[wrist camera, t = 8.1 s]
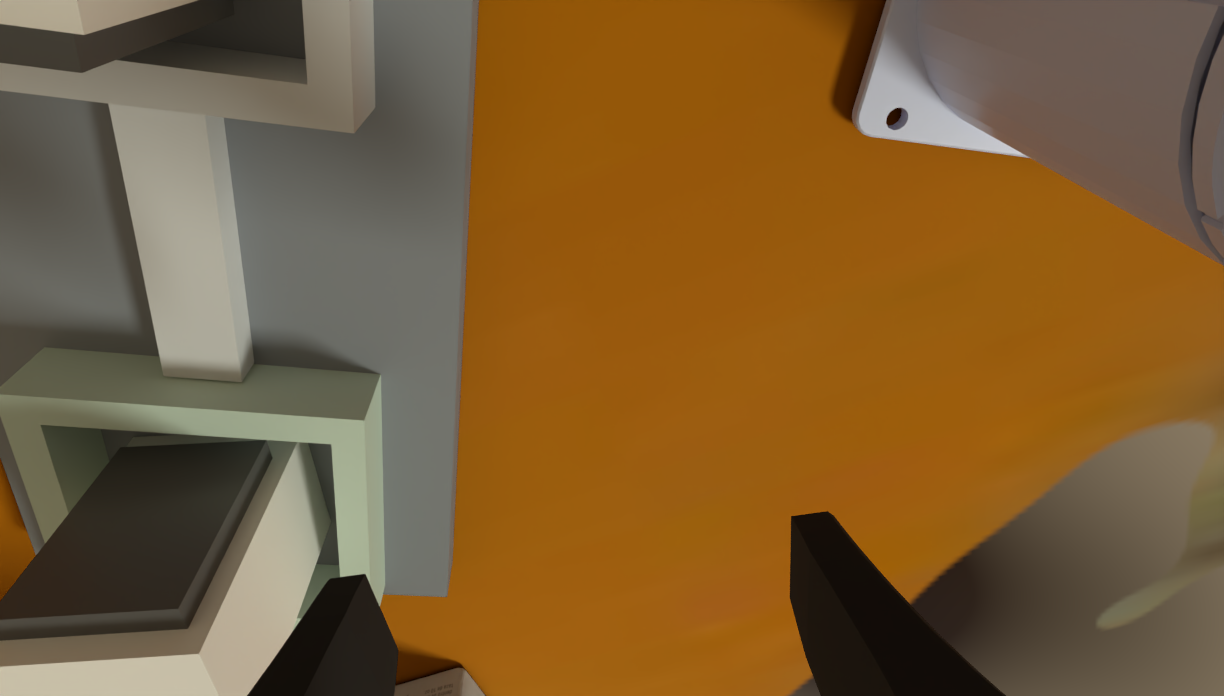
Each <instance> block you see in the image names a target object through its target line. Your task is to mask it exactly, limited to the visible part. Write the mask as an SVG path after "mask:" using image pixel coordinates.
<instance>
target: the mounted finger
mask: <svg viewBox="0 0 1224 696" xmlns="http://www.w3.org/2000/svg"><path fill="white" fill-rule="evenodd" d="M232 15H235V13H234V4H233V0H0V63H6V64H14V65H22V66H30V67H38V68H46V69H53V70H61V71H69V72H77V73H83V72H86V71H89V70H91V69H94V68H96V67H99V66H102V65H104V64H107V63H109V62H112V61H115V60H117V59H120V58H122V57H125V56H128V55H130V54H133V53H135V52H138V51H141V50H143V49H146V48H149V47H151V46H154V45H156V44H159V43H162V42H164V41H167V40H169V39H172V38H175V37H177V36H180V35H182V34H185V33H188V32H190V31H193V30H195V29H198V28H201V27H203V26H206V25H208V24H211V23H214V22H216V21H219V20H221V19H224V18H227V17H229V16H232Z"/></svg>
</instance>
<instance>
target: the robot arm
mask: <svg viewBox="0 0 1224 696" xmlns="http://www.w3.org/2000/svg"><path fill="white" fill-rule="evenodd" d="M895 108H901V110H902V112H901V117H900V119H899V120H898V122H896V123H895V124H893V125H889V126H887V124H886V119H887V116H888V114H889V113H890V112H891V111H892V110H894V109H895ZM852 121H853V124H854V126H855V127H856V128H857V129H858V130H859V131H860V132H861V133H862V134H864V135H867V136H870V137H877V138H885V139H892V140H900V141H907V142H915V143H922V144H930V145H937V146H945V147H952V148H960V149H967V150H975V151H982V152H990V153H997V154H1005V155H1012V156H1020V157H1027V158H1031V159H1033V160H1035V161H1037V162H1039V163H1040V164H1042V165H1044V166H1046V167H1048V168H1049V169H1051V170H1053V171H1055V172H1056V173H1058V174H1060V175H1062V176H1064V177H1065V178H1067V179H1069V180H1071V181H1073V182H1074V183H1076V184H1078V185H1080V186H1082V187H1083V188H1085V189H1087V190H1089V191H1091V192H1092V193H1094V194H1096V195H1098V196H1100V197H1101V198H1103V199H1105V200H1107V201H1109V202H1110V203H1112V204H1114V205H1116V206H1118V207H1119V208H1121V209H1123V210H1125V211H1127V212H1128V213H1130V214H1132V215H1134V216H1135V217H1137V218H1139V219H1141V220H1143V221H1144V222H1146V223H1148V224H1150V225H1152V226H1153V227H1155V228H1157V229H1159V230H1161V231H1162V232H1164V233H1166V234H1168V235H1170V236H1171V237H1173V238H1175V239H1177V240H1179V241H1180V242H1182V243H1184V244H1186V245H1188V246H1189V247H1191V248H1193V249H1195V250H1197V251H1198V252H1200V253H1202V254H1204V255H1206V256H1207V257H1209V258H1211V259H1213V260H1215V261H1216V262H1218V263H1220V264H1222V265H1223V266H1224V0H886V3H885V6H884V10H883V13H882V16H881V19H880V23H879V26H878V29H877V32H876V36H875V39H874V42H873V45H872V49H871V52H870V55H869V58H868V62H867V65H866V68H865V71H864V75H863V78H862V81H861V84H860V88H859V91H858V94H857V97H856V101H855V104H854V107H853V111H852ZM790 600H791V604H792V607H793V611H794V615H795V619H796V622H797V626H798V630H799V634H800V637H801V641H802V644H803V648H804V651H805V655H806V658H807V661H808V663H809V666H810V669H811V671H812V674H813V676H814V679H815V682H816V684H817V687H818V689H819V692H820V695H821V696H1006V695H1005V694H1003V693H1002V692H1001V691H1000V690H999V689H998V688H996V687H995V686H994V685H993V684H992V683H991V682H990V681H989V680H987V679H986V678H985V677H984V676H983V675H982V674H981V673H979V672H978V671H977V670H976V669H975V668H974V667H973V666H972V665H971V664H970V663H969V662H968V661H966V660H965V659H964V658H963V657H962V656H961V655H960V654H959V653H958V652H957V651H956V650H955V649H954V648H953V647H952V646H951V645H950V644H949V643H948V642H947V641H946V640H945V639H943V638H942V637H941V636H940V635H939V634H938V633H937V632H936V631H935V630H934V629H933V628H932V627H931V626H930V625H929V624H928V623H927V622H926V621H925V620H924V618H923V617H922V616H921V615H920V614H919V613H918V612H917V611H916V610H915V609H914V608H913V607H912V606H911V605H910V604H909V603H908V602H907V601H906V600H905V598H904V597H903V596H902V595H901V594H900V593H899V592H898V591H897V590H896V589H895V588H894V587H893V586H892V585H891V583H890V582H889V581H888V580H887V579H886V578H885V577H884V576H883V575H882V573H881V572H880V571H879V570H878V569H877V568H876V567H875V565H874V564H873V563H872V562H871V561H870V560H869V559H868V557H867V556H866V555H865V554H864V553H863V552H862V550H861V549H860V548H859V547H858V546H857V544H856V543H855V542H854V541H853V540H852V538H851V537H850V536H849V535H848V533H847V532H846V531H845V530H844V528H843V527H842V526H841V525H840V523H839V522H838V521H837V519H836V518H835V517H834V516H833V515H832V514H830V513H829V512H828V511H827V512H820V513H812V514H805V515H798V516H791V565H790ZM397 661H398V648H397V646H396V643H395V641H394V639H393V636H392V634H391V632H390V630H389V627H388V625H387V623H386V620H385V618H384V616H383V613H382V611H381V609H380V606H379V604H378V602H377V599H376V597H375V595H374V593H373V590H372V588H371V586H370V583H369V581H368V579H367V576H366V574H360V575H352V576H345V577H338V578H330V579H329V580H328V581H327V582H326V584H325V585H324V586H323V588H322V589H321V591H320V592H319V594H318V595H317V596H316V598H315V599H314V601H313V602H312V604H311V605H310V607H309V608H308V610H307V611H306V613H305V614H304V616H303V617H302V618H301V620H300V621H299V623H298V624H297V626H296V627H295V629H294V630H293V632H292V633H291V635H290V636H289V637H288V639H287V640H286V642H285V643H284V645H283V646H282V648H281V649H280V650H279V652H278V653H277V655H276V656H275V658H274V659H273V660H272V662H271V663H270V665H269V666H268V667H267V669H266V670H265V672H264V673H263V674H262V676H261V677H260V678H259V680H258V681H257V683H256V684H255V685H254V687H253V688H252V690H251V691H250V692H249V694H248V695H247V696H394V692H395V683H396V672H397Z"/></svg>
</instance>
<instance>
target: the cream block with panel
mask: <svg viewBox="0 0 1224 696" xmlns="http://www.w3.org/2000/svg"><path fill="white" fill-rule="evenodd" d="M330 523H331V520H330V517H329V513H328V510H327V507H326V503H325V500H324V496H323V493H322V489H321V486H320V483H319V479H318V476H317V472H316V469H315V465H314V462H313V459H312V455H311V452H310V448H309V445H308V443H304V442H289V441H274V440H260V439H245V438H230V437H215V436H200V435H185V434H184V435H164V436H144V437H133V438H132V440H131V441H130V442H129V443H128V445H127V446H126V447H120V448H119V450H118V451H117V452H116V454H115V455H114V456H113V457H112V459H111V460H110V461H109V463H108V464H107V465H106V466H105V468H104V469H103V470H102V471H101V473H100V474H99V475H98V477H97V478H96V479H95V480H94V482H93V483H92V484H91V486H90V487H89V488H88V489H87V491H86V492H85V493H84V495H83V496H82V497H81V498H80V500H79V501H78V502H77V504H76V505H75V506H74V507H73V509H72V510H71V511H70V513H69V514H68V515H67V516H66V518H65V519H64V520H63V522H62V523H61V524H60V525H59V527H58V528H57V529H56V530H55V532H54V533H53V534H52V536H51V537H50V538H49V539H48V541H47V542H46V543H45V545H44V546H43V547H42V548H41V550H40V551H39V552H38V554H37V555H36V556H35V557H34V559H33V560H32V561H31V563H30V564H29V565H28V566H27V568H26V569H25V570H24V572H23V573H22V574H21V575H20V577H19V578H18V579H17V580H16V582H15V583H14V584H13V586H12V587H11V588H10V589H9V591H8V592H7V593H6V595H5V596H4V597H3V598H2V600H1V601H0V696H247V695H248V694H249V692H250V691H251V690H252V688H253V687H254V685H255V684H256V683H257V681H258V680H259V678H260V677H261V676H262V674H263V673H264V672H265V670H266V669H267V667H268V666H269V665H270V663H271V662H272V660H273V659H274V658H275V656H276V655H277V653H278V652H279V650H280V649H281V648H282V646H283V645H284V643H285V642H286V640H287V639H288V637H289V636H290V635H291V633H292V631H293V628H294V625H295V622H296V619H297V617H298V614H299V611H300V608H301V605H302V602H303V600H304V597H305V594H306V591H307V588H308V585H309V583H310V580H311V577H312V574H313V571H314V568H315V566H316V563H317V560H318V557H319V554H320V551H321V549H322V546H323V543H324V540H325V537H326V534H327V532H328V529H329V526H330Z"/></svg>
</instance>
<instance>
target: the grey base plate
mask: <svg viewBox="0 0 1224 696" xmlns="http://www.w3.org/2000/svg"><path fill="white" fill-rule="evenodd" d="M233 4H234V13H235V15H232V16H229V17H227V18H224V19H221V20H219V21H216V22H214V23H211V24H208V25H206V26H203V27H201V28H198V29H195V30H193V31H190V32H188V33H185V34H182V35H180V36H177V37H175V38H172V39H169V40H167V41H164V42H162V43H159V44H156V45H154V46H151V47H149V48H146V49H143V50H141V51H138V52H135V53H133V54H130V55H128V56H125V57H122V58H120V59H117V60H115V61H112V62H109V63H107V64H104V65H102V66H99V67H96V68H94V69H91V70H89V71H86V72H83V73H77V72H69V71H61V70H53V69H46V68H38V67H30V66H22V65H14V64H6V63H0V458H1V461H2V463H3V466H4V469H5V472H6V474H7V477H8V480H9V483H10V485H11V488H12V491H13V494H14V496H15V499H16V502H17V505H18V507H19V510H20V513H21V515H22V518H23V521H24V524H25V526H26V529H27V532H28V535H29V537H30V540H31V543H32V546H33V548H34V551H35V554H36V555H37V554H38V552H39V551H40V550H41V548H42V547H43V546H44V545H45V543H46V542H47V541H48V539H49V538H50V537H51V536H52V534H53V533H54V532H55V530H56V529H57V528H58V527H59V525H60V524H61V523H62V522H63V520H64V519H65V518H66V516H67V515H68V514H69V513H70V511H71V510H72V509H73V507H74V506H75V505H76V504H77V502H78V501H79V500H80V498H81V497H82V496H83V495H84V493H85V492H86V491H87V489H88V488H89V487H90V486H91V484H92V483H93V482H94V480H95V479H96V478H97V477H98V475H99V474H100V473H101V471H102V470H103V469H104V468H105V466H106V465H107V464H108V463H109V461H110V460H111V459H112V457H113V456H114V455H115V454H116V452H117V451H118V450H119V448H120V447H126V446H127V445H128V443H129V442H130V441H131V440H132V438H133V437H144V436H164V435H184V434H185V435H200V436H215V437H230V438H245V439H260V440H274V441H289V442H304V443H308V445H309V448H310V452H311V455H312V459H313V462H314V465H315V469H316V472H317V476H318V479H319V483H320V486H321V489H322V493H323V496H324V500H325V503H326V507H327V510H328V513H329V517H330V520H331V523H330V526H329V529H328V532H327V534H326V537H325V540H324V543H323V546H322V549H321V551H320V554H319V557H318V560H317V563H316V566H315V568H314V571H313V574H312V577H311V580H310V583H309V585H308V588H307V591H306V594H305V597H304V600H303V602H302V605H301V608H300V611H299V614H298V617H297V619H296V622H295V625H294V628H293V630H294V629H295V627H296V626H297V624H298V623H299V621H300V620H301V618H302V617H303V616H304V614H305V613H306V611H307V610H308V608H309V607H310V605H311V604H312V602H313V601H314V599H315V598H316V596H317V595H318V594H319V592H320V591H321V589H322V588H323V586H324V585H325V584H326V582H327V581H328V580H329V579H330V578H338V577H345V576H352V575H360V574H366V576H367V579H368V581H369V583H370V586H371V588H372V590H373V593H374V595H375V597H376V599H377V602H378V604H379V606H380V604H381V600H382V596H383V594H389V595H413V596H437V597H447V594H448V587H449V580H450V574H451V567H452V558H453V537H454V516H455V494H456V473H457V452H458V430H459V409H460V388H461V366H462V345H463V324H464V302H465V281H466V260H467V238H468V217H469V196H470V174H471V153H472V132H473V110H474V89H475V68H476V46H477V25H478V4H479V0H233ZM292 632H293V631H292Z"/></svg>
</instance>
